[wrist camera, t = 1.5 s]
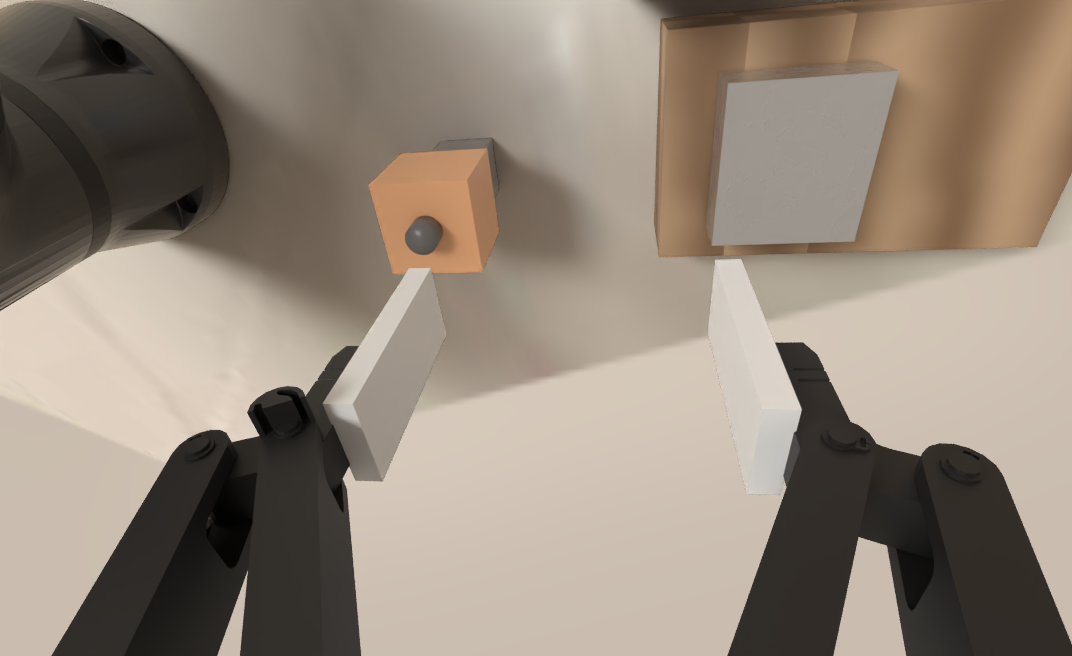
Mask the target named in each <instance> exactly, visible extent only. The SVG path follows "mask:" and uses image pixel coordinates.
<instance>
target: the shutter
mask: <svg viewBox="0 0 1072 656" xmlns="http://www.w3.org/2000/svg"><path fill="white" fill-rule="evenodd" d="M898 74H899V70H896V69H894V68H892V67H889V66H887V65H885V64H883V63H880V62H878V61H866V62H853V63H840V64H827V65H814V66H801V67H788V68H775V69H762V70H749V71H735V72H722V73H719V83H718V94H717V105H716V116H715V127H714V138H713V149H712V160H711V171H710V182H709V193H708V204H707V215H706V229H707V232H708V235H709V238H710V242H711V245H712V246H722V245H756V244H789V243H823V242H854V241H855V237H856V233H857V229H858V226H859V222H860V218H861V214H862V210H863V207H864V203H865V199H866V195H867V191H868V188H869V184H870V180H871V176H872V172H873V169H874V165H875V161H876V157H877V153H878V150H879V146H880V142H881V138H882V134H883V131H884V127H885V123H886V119H887V115H888V112H889V108H890V104H891V100H892V96H893V93H894V89H895V85H896V81H897V77H898Z"/></svg>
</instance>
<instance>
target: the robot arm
mask: <svg viewBox="0 0 1072 656" xmlns="http://www.w3.org/2000/svg"><path fill="white" fill-rule="evenodd" d="M228 176H229V160H228V152H227V146H226V142H225V138H224V134H223V131H222V128H221V125H220V123H219V120H218V118H217V116H216V113H215V111H214V109H213V107H212V105H211V103H210V102H209V100H208V98H207V96H206V95H205V93H204V91H203V90H202V88H201V87H200V85H199V84H198V82H197V81H196V80H195V78H194V77H193V76H192V74H191V73H190V72H189V71H188V69H187V68H186V67H185V66H184V65H183V63H182V62H181V61H180V60H179V59H178V58H177V57H176V56H175V55H174V54H173V53H172V52H171V51H170V50H169V49H168V48H167V47H166V46H165V45H164V44H163V43H162V42H160V41H159V40H158V39H157V38H156V37H154V36H153V35H152V34H151V33H149V32H148V31H147V30H145V29H144V28H142V27H141V26H139V25H138V24H137V23H135V22H133V21H132V20H130V19H128V18H127V17H125V16H123V15H121V14H119V13H117V12H115V11H113V10H111V9H108V8H106V7H103V6H100V5H98V4H94V3H91V2H87V1H83V0H35V1H25V2H20V3H16V4H13V5H10V6H7V7H4V8H2V9H0V311H1V310H3V309H4V308H6V307H8V306H9V305H11V304H12V303H14V302H16V301H17V300H19V299H21V298H22V297H24V296H25V295H27V294H29V293H30V292H32V291H34V290H35V289H37V288H39V287H40V286H42V285H43V284H45V283H47V282H48V281H50V280H52V279H53V278H55V277H57V276H58V275H60V274H61V273H63V272H65V271H66V270H68V269H70V268H71V267H73V266H74V265H76V264H78V263H79V262H81V261H83V260H84V259H86V258H88V257H90V256H91V255H93V254H95V253H97V252H101V251H106V250H112V249H117V248H123V247H128V246H134V245H140V244H145V243H151V242H156V241H162V240H166V239H170V238H173V237H176V236H178V235H181V234H183V233H185V232H186V231H188V230H190V229H191V228H193V227H194V226H196V225H197V224H199V223H200V222H202V221H203V220H205V219H206V218H207V217H209V216H210V215H211V214H212V213H213V212H214V211H215V210H216V208H217V207H218V206H219V204H220V202H221V201H222V199H223V196H224V194H225V191H226V187H227V183H228ZM708 336H709V340H710V344H711V348H712V352H713V356H714V361H715V365H716V369H717V373H718V377H719V382H720V386H721V390H722V394H723V398H724V403H725V407H726V411H727V415H728V419H729V423H730V428H731V432H732V436H733V440H734V444H735V449H736V452H737V457H738V461H739V465H740V469H741V474H742V478H743V482H744V486H745V490H746V494H759V495H781V491H782V487H783V483H784V480H785V483H786V486H787V488H786V491H785V494H784V497H783V499H782V502H781V505H780V508H779V511H778V514H777V517H776V519H775V522H774V525H773V528H772V531H771V534H770V536H769V539H768V542H767V545H766V548H765V551H764V554H763V556H762V559H761V562H760V565H759V568H758V570H757V574H756V576H755V579H754V582H753V585H752V588H751V590H750V594H749V596H748V599H747V602H746V605H745V607H744V610H743V613H742V616H741V619H740V622H739V625H738V627H737V630H736V633H735V636H734V639H733V642H732V644H731V647H730V650H729V653H728V656H833V654H834V650H835V644H836V640H837V636H838V631H839V626H840V621H841V617H842V612H843V607H844V603H845V598H846V593H847V588H848V583H849V578H850V574H851V569H852V565H853V560H854V555H855V551H856V546H857V541H858V537H861V538H864V539H867V540H870V541H874V542H877V543H880V544H884V545H887V547H888V554H889V559H890V565H891V571H892V577H893V581H894V588H895V594H896V599H897V605H898V611H899V617H900V623H901V628H902V634H903V639H904V645H905V651H906V656H1072V644H1071V641H1070V639H1069V636H1068V634H1067V631H1066V629H1065V627H1064V624H1063V622H1062V619H1061V617H1060V614H1059V612H1058V609H1057V607H1056V605H1055V602H1054V600H1053V597H1052V595H1051V592H1050V590H1049V587H1048V585H1047V583H1046V580H1045V577H1044V575H1043V573H1042V570H1041V568H1040V565H1039V563H1038V560H1037V558H1036V555H1035V553H1034V551H1033V548H1032V546H1031V543H1030V541H1029V538H1028V536H1027V533H1026V531H1025V528H1024V526H1023V523H1022V521H1021V519H1020V516H1019V514H1018V511H1017V509H1016V506H1015V504H1014V502H1013V499H1012V496H1011V494H1010V492H1009V489H1008V487H1007V485H1006V482H1005V479H1004V477H1003V475H1002V473H1001V472H1000V470H999V469H998V468H997V466H996V465H995V464H994V463H993V462H991V461H990V460H989V459H987V458H986V457H985V456H984V455H982V454H980V453H978V452H976V451H974V450H972V449H970V448H966V447H962V446H959V445H955V444H940V443H939V444H936V445H932V446H929V447H928V448H927V449H926V450H925V451H924V452H923V453H922V455H921V456H917V455H913V454H909V453H905V452H901V451H896V450H892V449H889V448H886V447H883V446H880V445H878V444H876V442H875V441H874V439H873V438H872V437H871V435H870V434H869V433H868V432H867V431H866V430H864V429H863V428H862V427H860V426H859V425H857V424H854V423H852V422H850V420H849V418H848V416H847V414H846V412H845V410H844V408H843V406H842V404H841V402H840V400H839V398H838V396H837V394H836V392H835V390H834V388H833V386H832V384H831V382H829V377H828V375H827V373H826V372H825V371H824V368H823V365H822V363H821V361H820V359H819V357H818V356H817V354H816V353H815V352H813V351H812V350H811V349H810V348H809V347H808V346H806V345H805V344H804V343H775V342H774V339H773V337H772V335H771V332H770V329H769V327H768V324H767V322H766V319H765V317H764V315H763V312H762V310H761V307H760V305H759V302H758V300H757V297H756V295H755V292H754V290H753V287H752V285H751V282H750V280H749V277H748V275H747V272H746V270H745V267H744V265H743V262H742V260H741V259H726V260H715V267H714V277H713V286H712V296H711V306H710V315H709V325H708ZM445 337H446V331H445V327H444V322H443V318H442V314H441V309H440V305H439V301H438V296H437V292H436V288H435V284H434V279H433V275H432V271H431V268H409V269H408V271H407V272H406V274H405V276H404V277H403V279H402V280H401V282H400V283H399V285H398V286H397V288H396V290H395V291H394V293H393V294H392V296H391V297H390V299H389V301H388V302H387V304H386V305H385V307H384V308H383V310H382V311H381V313H380V315H379V316H378V318H377V319H376V321H375V322H374V324H373V326H372V327H371V329H370V330H369V332H368V333H367V335H366V336H365V338H364V340H363V341H362V343H361V344H360V346H346V347H345V348H344V349H342V350H341V351H340V352H339V353H337V354H336V355H335V356H333V357H332V359H331V360H330V362H329V363H328V365H327V366H326V368H325V371H323V372H322V373H321V375H320V376H319V378H318V381H316V382H315V384H314V385H313V386H312V388H311V389H310V391H309V392H308V394H307V395H306V397H305V394H304V392H303V390H301V389H299V388H297V387H291V386H286V387H280V388H276V389H274V390H271V391H268V392H266V393H265V394H263V395H262V396H260V397H258V398H257V399H256V400H255V401H254V402H253V403H252V404H251V405H250V407H249V410H248V412H247V413H248V415H249V417H250V419H251V421H252V423H253V424H254V426H255V428H256V430H257V432H258V434H259V436H258V437H254V438H249V439H245V440H240V441H236V442H231V440H230V438H229V437H228V435H227V433H226V432H223V431H221V430H209V431H205V432H201V433H198V434H196V435H194V436H192V437H190V438H188V439H187V440H186V441H184V442H183V443H182V444H180V445H179V446H178V447H177V448H176V450H175V451H174V452H173V453H172V455H171V456H170V458H169V460H168V461H167V463H166V465H165V466H164V468H163V470H162V471H161V473H160V475H159V477H158V478H157V480H156V482H155V483H154V485H153V487H152V488H151V490H150V492H149V493H148V495H147V497H146V498H145V500H144V502H143V503H142V505H141V507H140V508H139V510H138V512H137V513H136V515H135V517H134V519H133V520H132V522H131V524H130V525H129V527H128V529H127V530H126V532H125V533H124V536H123V537H122V539H121V540H120V542H119V544H118V545H117V547H116V549H115V550H114V552H113V554H112V555H111V557H110V559H109V560H108V562H107V564H106V565H105V567H104V569H103V570H102V572H101V574H100V575H99V577H98V579H97V581H96V582H95V584H94V586H93V587H92V589H91V590H90V592H89V594H88V596H87V597H86V599H85V601H84V602H83V604H82V606H81V607H80V609H79V611H78V612H77V614H76V616H75V617H74V619H73V621H72V622H71V624H70V626H69V627H68V629H67V631H66V632H65V634H64V636H63V637H62V639H61V641H60V642H59V644H58V646H57V647H56V649H55V651H54V652H53V654H52V656H217V655H218V651H219V649H220V646H221V643H222V640H223V637H224V635H225V632H226V629H227V627H228V623H229V621H230V618H231V615H232V613H233V610H234V607H235V604H236V601H237V599H238V596H239V593H240V590H241V587H242V585H243V582H244V579H245V576H246V573H247V571H248V576H247V587H246V598H245V609H244V619H243V629H242V640H241V651H240V656H361V649H360V638H359V625H358V614H357V602H356V590H355V580H354V568H353V557H352V544H351V532H350V522H349V510H348V497H347V489H346V486H345V484H344V481H343V476H344V475H345V473H346V471H347V469H348V467H350V469H351V471H352V474H353V476H354V478H355V480H358V481H383V479H384V477H385V475H386V473H387V470H388V468H389V466H390V463H391V461H392V458H393V456H394V454H395V452H396V450H397V447H398V445H399V443H400V440H401V438H402V436H403V433H404V431H405V429H406V427H407V424H408V422H409V420H410V417H411V415H412V413H413V410H414V408H415V406H416V404H417V401H418V399H419V397H420V394H421V392H422V390H423V387H424V385H425V383H426V381H427V378H428V376H429V374H430V371H431V369H432V367H433V364H434V362H435V360H436V358H437V355H438V353H439V351H440V348H441V346H442V344H443V341H444V339H445Z"/></svg>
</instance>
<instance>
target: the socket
mask: <svg viewBox="0 0 1072 656" xmlns="http://www.w3.org/2000/svg"><path fill="white" fill-rule="evenodd" d="M866 61H878V62H880V63H883V64H885V65H887V66H889V67H892V68H894V69H896V70H899V74H898V77H897V81H896V85H895V89H894V93H893V96H892V100H891V104H890V108H889V112H888V115H887V119H886V123H885V127H884V131H883V134H882V138H881V142H880V146H879V150H878V153H877V157H876V161H875V165H874V169H873V172H872V176H871V180H870V184H869V188H868V191H867V195H866V199H865V203H864V207H863V210H862V214H861V218H860V222H859V226H858V229H857V233H856V237H855V241H854V242H823V243H789V244H756V245H722V246H712V245H711V242H710V238H709V235H708V232H707V229H706V215H707V204H708V193H709V182H710V171H711V160H712V149H713V138H714V127H715V116H716V105H717V94H718V83H719V73H722V72H735V71H749V70H762V69H775V68H788V67H801V66H814V65H827V64H840V63H853V62H866ZM1071 173H1072V0H858V1H847V2H836V3H825V4H814V5H804V6H793V7H782V8H771V9H760V10H750V11H739V12H728V13H717V14H706V15H695V16H685V17H674V18H663V19H661V27H660V58H659V88H658V119H657V150H656V180H655V211H654V225H655V232H656V240H657V247H658V254H659V257H682V256H719V255H756V254H792V253H829V252H866V251H903V250H940V249H977V248H1013V247H1037V245H1038V242H1039V240H1040V238H1041V236H1042V234H1043V232H1044V230H1045V228H1046V226H1047V223H1048V221H1049V219H1050V217H1051V215H1052V213H1053V211H1054V209H1055V207H1056V205H1057V202H1058V200H1059V198H1060V196H1061V194H1062V192H1063V190H1064V188H1065V186H1066V184H1067V181H1068V179H1069V177H1070V175H1071Z"/></svg>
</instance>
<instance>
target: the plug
mask: <svg viewBox="0 0 1072 656" xmlns="http://www.w3.org/2000/svg"><path fill="white" fill-rule="evenodd" d="M368 186H369V189H370V193H371V197H372V200H373V204H374V208H375V211H376V215H377V218H378V222H379V226H380V229H381V233H382V236H383V240H384V244H385V247H386V251H387V254H388V258H389V262H390V265H391V269H392V273H393V274H406V272H407V271H408V269H409V268H431V271H432V273H468V272H483V270H484V267H485V265H486V263H487V260H488V258H489V255H490V253H491V250H492V248H493V246H494V243H495V241H496V238H497V236H498V233H499V227H498V220H497V213H496V206H495V197H496V195H497V193H498V191H499V185H498V178H497V171H496V163H495V156H494V149H493V142H492V138H483V139H467V140H451V141H440V143H439V144H438V145H437V146H436V147H435V148H434V149H433V150H432V151H431V152H417V153H401V154H400V155H399V156H398V157H397V158H396V159H395V160H394V161H393V162H392V163H391V164H390V165H389V166H388V167H387V168H386V169H384V170H383V171H382V172H381V173H380V174H379V175H378V176H377V177H376V178H375V179H374V180H373V181H372V182H371V183H370V184H369V185H368Z"/></svg>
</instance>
